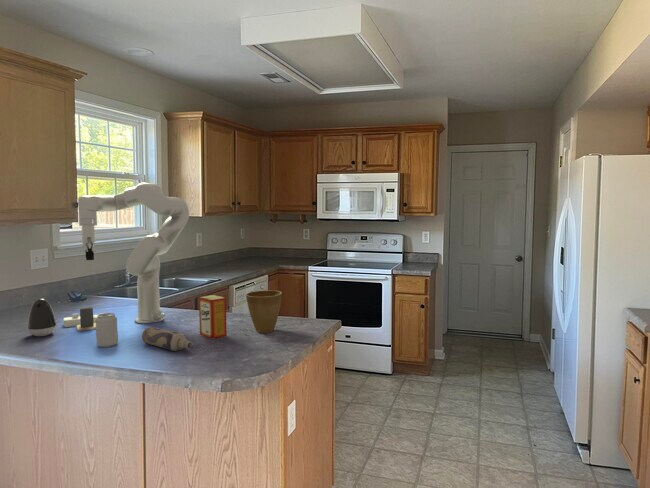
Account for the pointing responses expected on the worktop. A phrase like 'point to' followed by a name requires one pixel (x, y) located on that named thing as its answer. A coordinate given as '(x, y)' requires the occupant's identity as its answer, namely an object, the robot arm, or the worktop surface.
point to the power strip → (75, 320)
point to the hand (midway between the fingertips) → (89, 259)
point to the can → (106, 330)
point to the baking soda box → (212, 316)
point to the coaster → (86, 327)
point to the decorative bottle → (166, 339)
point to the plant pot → (264, 309)
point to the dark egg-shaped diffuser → (41, 318)
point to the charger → (86, 316)
